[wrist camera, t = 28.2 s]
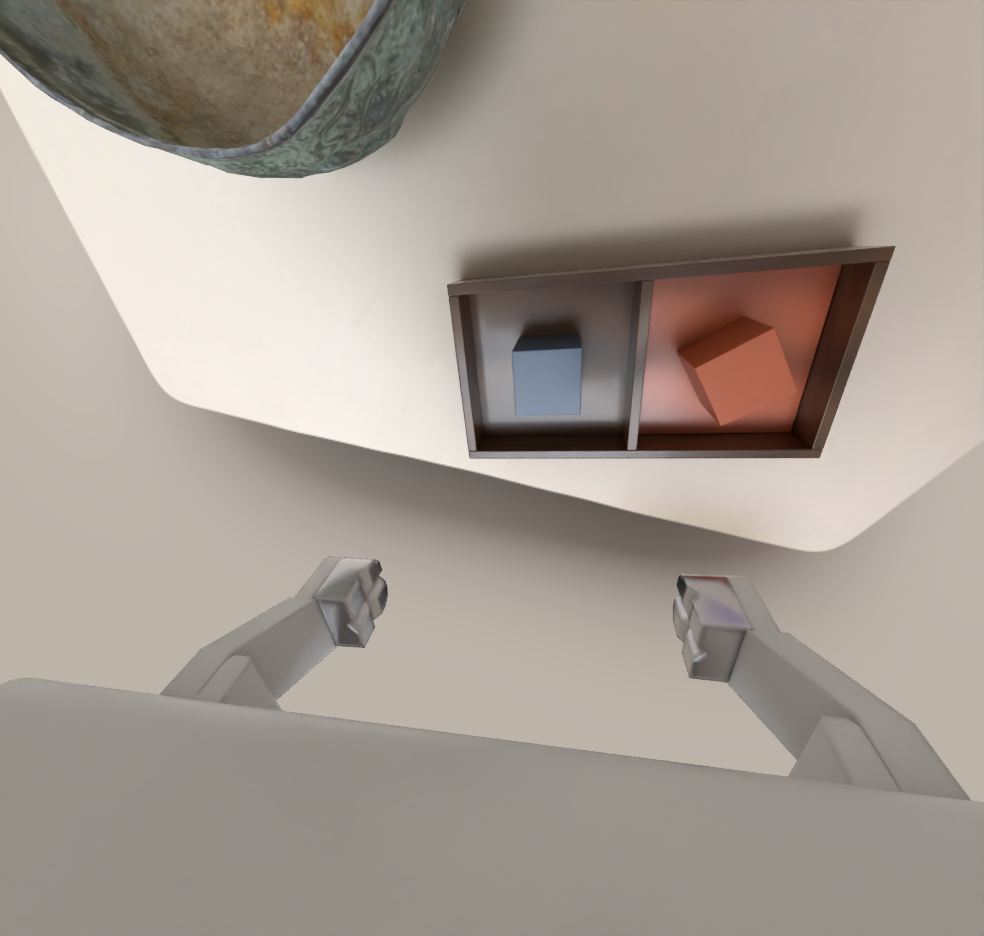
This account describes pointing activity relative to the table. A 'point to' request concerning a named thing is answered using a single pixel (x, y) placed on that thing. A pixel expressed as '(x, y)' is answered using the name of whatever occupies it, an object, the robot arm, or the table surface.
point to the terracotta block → (738, 369)
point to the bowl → (235, 73)
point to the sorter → (664, 352)
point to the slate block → (547, 375)
